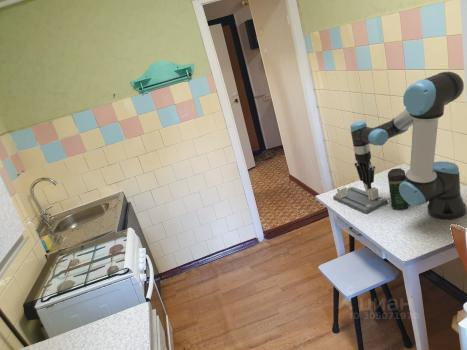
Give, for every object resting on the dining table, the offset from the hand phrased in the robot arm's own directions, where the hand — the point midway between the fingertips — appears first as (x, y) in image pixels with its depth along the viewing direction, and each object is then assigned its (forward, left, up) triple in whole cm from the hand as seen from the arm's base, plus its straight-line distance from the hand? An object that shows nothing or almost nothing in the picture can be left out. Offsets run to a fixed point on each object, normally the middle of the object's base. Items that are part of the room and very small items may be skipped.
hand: (368, 194), depth 195 cm
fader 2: (-3, 0, -1) cm, 4 cm away
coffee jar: (-16, -5, -4) cm, 17 cm away
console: (+3, +4, -4) cm, 6 cm away
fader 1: (+11, +8, -1) cm, 14 cm away
